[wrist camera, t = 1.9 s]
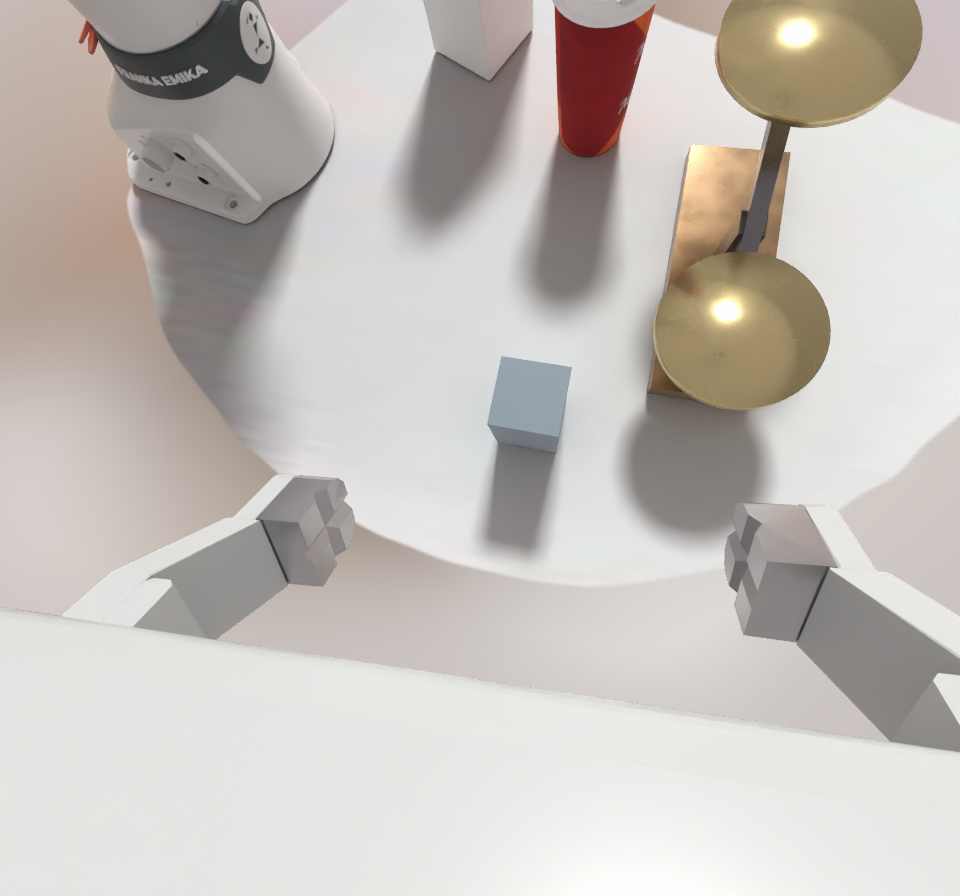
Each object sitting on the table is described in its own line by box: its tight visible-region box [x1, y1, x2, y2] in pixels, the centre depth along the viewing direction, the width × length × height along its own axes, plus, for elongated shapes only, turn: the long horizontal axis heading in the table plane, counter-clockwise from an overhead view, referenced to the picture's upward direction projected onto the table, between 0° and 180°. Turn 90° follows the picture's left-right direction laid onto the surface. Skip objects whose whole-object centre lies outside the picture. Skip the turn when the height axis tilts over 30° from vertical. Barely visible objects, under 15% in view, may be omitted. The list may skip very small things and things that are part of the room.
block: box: [488, 356, 572, 453], centre depth 37 cm, size 5×5×8 cm
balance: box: [647, 0, 922, 411], centre depth 34 cm, size 11×27×14 cm, turn 168°
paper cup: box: [553, 0, 657, 157], centre depth 37 cm, size 8×8×14 cm
